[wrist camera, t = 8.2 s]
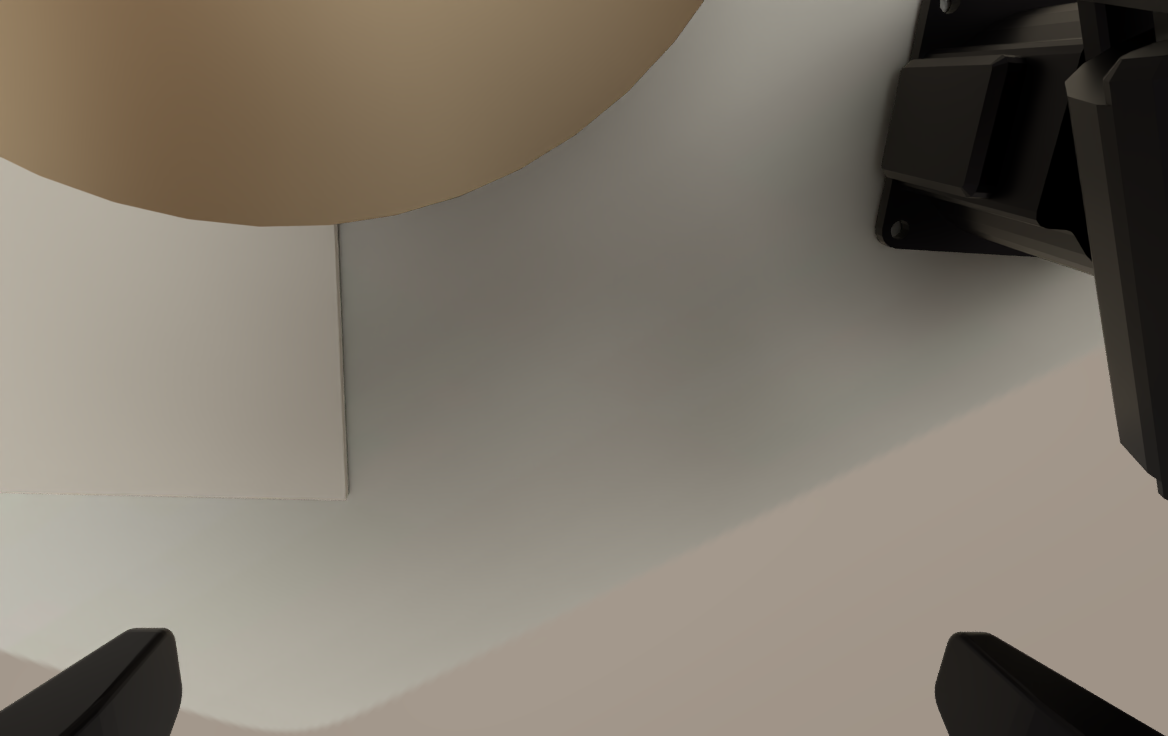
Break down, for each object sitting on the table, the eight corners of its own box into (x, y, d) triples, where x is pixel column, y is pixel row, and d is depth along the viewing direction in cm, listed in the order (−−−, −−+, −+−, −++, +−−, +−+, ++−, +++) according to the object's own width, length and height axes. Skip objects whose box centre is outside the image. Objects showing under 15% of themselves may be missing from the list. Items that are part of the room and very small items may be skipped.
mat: (328, 7, 18) (324, 5, 17) (348, 493, 22) (345, 500, 22) (-288, -46, 16) (-307, -49, 16) (-133, 482, 21) (-145, 489, 20)
